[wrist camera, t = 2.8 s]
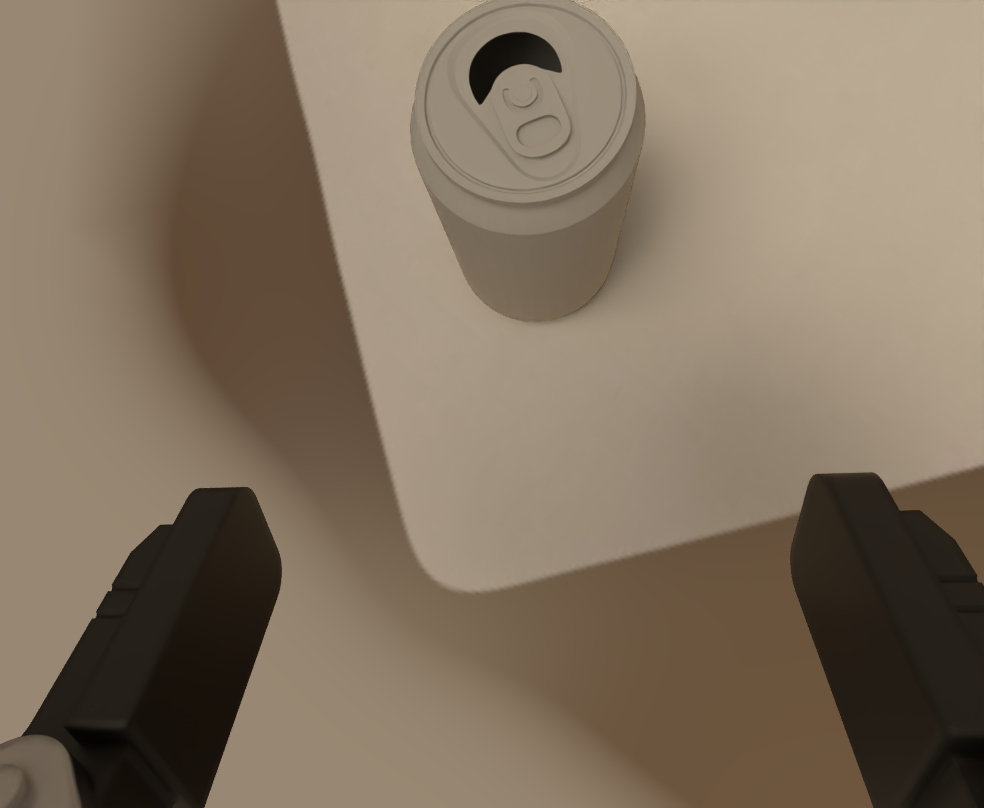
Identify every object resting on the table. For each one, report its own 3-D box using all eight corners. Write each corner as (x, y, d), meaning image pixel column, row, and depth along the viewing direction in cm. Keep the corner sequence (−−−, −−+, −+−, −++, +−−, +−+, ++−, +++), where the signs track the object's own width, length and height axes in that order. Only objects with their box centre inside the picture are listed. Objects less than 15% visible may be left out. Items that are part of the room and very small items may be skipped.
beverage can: (579, 158, 30) (595, -63, 18) (636, 294, 29) (693, 157, 17) (441, 213, 30) (365, 32, 18) (492, 349, 29) (448, 253, 17)
